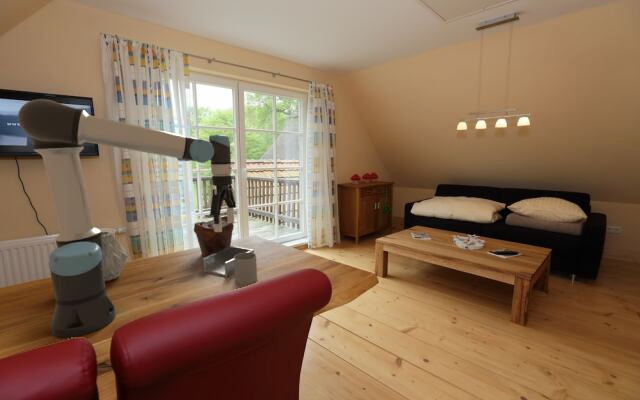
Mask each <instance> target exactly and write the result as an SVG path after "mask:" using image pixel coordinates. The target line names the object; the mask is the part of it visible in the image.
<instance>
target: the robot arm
mask: <svg viewBox="0 0 640 400" xmlns="http://www.w3.org/2000/svg"><path fill="white" fill-rule="evenodd" d="M17 120H18V123H19V126H20V128H21V130H22V131H23V132H24V133H25V134H27V135H28V136H29V137H30V140H31V144H32V147H33V151H34V152H36V153H38V154H39V155H41V157H42V160H43V164H44V168H45V173H46V177H47V181H48V186H49V189H50V194H51V199H52V203H53V207H54V210H55V215H56V219H57V223H58V224H57V225H58V228H59V234H58V235H57V236H56V237H55V244H56V247H57V248H54V250H52V251H51V253H50V254H49V257H48V267H49V270H50V276H51V281H52V282H51V283H52V288H53V292H54V293H53V294H54V300H55V308H54V311H53V315H52V319H51V324H50V329H51V334H52V336H54V337H56V338H74V337H75V338H76V337H80V336H84V335H87V334H91V333H94V332H95V331H98V330H100V329H102V328H104V327H105V326H108V325H109V324H110V323H111V322H113V320H114V319H115V318H116V315H117V313H116V307H115V305H114V303H113V302H112V300H111V298H110V297H109V295H108V293H107V288H106V283H105V282H106V281H105V280H104V272H103V266H104V261H105V258H106V254H107V249H106V245H105V244H104V242H103V239H102V234H101V232H102V230H101V229H99V228H98V227H96V226H95V224H94V220H93V214H92V210H91V206H90V199H89V197H88V196H89V195H88V191H87V186H86V182H85V177H84V172H83V168H82V167H83V166H82V163H81V159H80V154H81V152H82V151H83V150H84V149H85V148H84V143H90V144H96V145H100V146H101V145H102V146H105V147H106V146H108V147H113V148H119V149H124V150H129V151H130V150H131V151H137V152H140V153H148V154H152V155H153V154H154V155H160V156H165V157H170V158H174V159H175V158H176V160H178V161H179V162H188V161H189V162H196V163H201V164H202V163H207V162H208V161H210V168H211V169H210V171H211V172H210V173H211V175H212V176H211V184H212V185H213V186H215V187H216V189H215V188H213V189H212V191H211V192H212V193H211V194H212V197H211V202H210V203H211V205H210V211H209V214H210V215H209V216H212V217H213V219H212V220H214V232H222V223H221V217H222V215H221V210H222V206H223V202H225V204H226V206H227V207H226V216H227V221H228V223H233V224H235V210H234V208H236V206H237V205H236V200H235V197H234V191H233V187H232V184H233V176H232V175H231V174H232V169H233V167H232V161H231V142H230V137H229V136H228V135H226V134H210V135H209V137H208V139H204V138H195V137H193V136H192V137H191V136H186V135H182V134H179V133H178V134H177V133H173V132H168V131H165V130H159V129H155V128H149V127H147V126H146V127H145V126H141V125H137V124H136V125H135V124H133V123H132V124H131V123H127V122H123V121H118V120H114V119H109V118H104V117H100V116H96V115H95V116H94V115H91V114H89V113H88V112H86V110H84V109H81V108H80V109H79V108H76V107H71V106H69V105H66V104H62V103H60V102H57V101H55V100H51V99H45V98H39V99H38V98H37V99H33V100H30V101H29V100H28V102H26V103H24V104H23V105H22V106H21V108H19V111H18V114H17Z"/></svg>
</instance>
